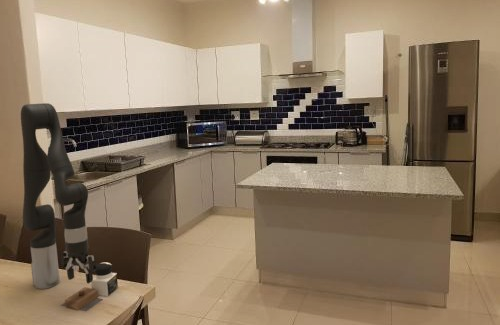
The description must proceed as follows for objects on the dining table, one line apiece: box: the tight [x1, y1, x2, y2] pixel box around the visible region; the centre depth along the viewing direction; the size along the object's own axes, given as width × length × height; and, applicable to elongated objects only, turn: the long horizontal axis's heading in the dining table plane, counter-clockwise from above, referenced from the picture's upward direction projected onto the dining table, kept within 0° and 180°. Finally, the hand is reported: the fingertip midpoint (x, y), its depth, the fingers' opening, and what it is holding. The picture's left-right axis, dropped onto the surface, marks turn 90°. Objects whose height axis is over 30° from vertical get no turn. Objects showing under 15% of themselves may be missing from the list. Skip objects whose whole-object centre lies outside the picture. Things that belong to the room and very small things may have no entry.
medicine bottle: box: [90, 262, 119, 297], centre depth 156 cm, size 7×7×12 cm
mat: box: [60, 297, 104, 312], centre depth 149 cm, size 12×9×1 cm
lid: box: [64, 286, 99, 311], centre depth 148 cm, size 6×10×4 cm, turn 159°
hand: (80, 280), depth 147 cm, fingers open, 8 cm apart
